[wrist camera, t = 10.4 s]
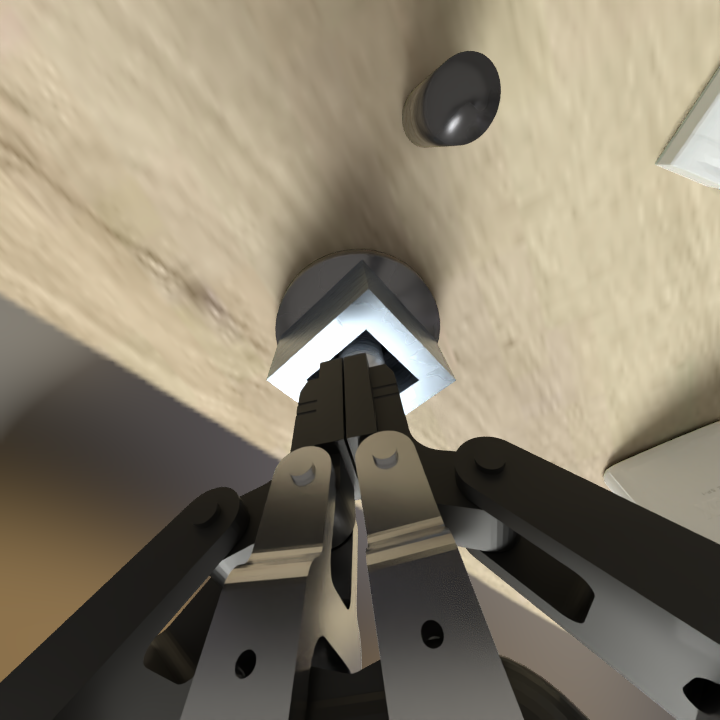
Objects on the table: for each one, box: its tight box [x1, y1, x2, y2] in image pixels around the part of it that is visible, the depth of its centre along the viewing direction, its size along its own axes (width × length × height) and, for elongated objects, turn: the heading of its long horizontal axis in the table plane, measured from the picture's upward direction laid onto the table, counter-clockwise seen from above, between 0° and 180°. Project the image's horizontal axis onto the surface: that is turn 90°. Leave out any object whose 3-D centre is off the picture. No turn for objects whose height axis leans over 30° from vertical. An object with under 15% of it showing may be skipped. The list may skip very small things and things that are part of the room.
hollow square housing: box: [267, 260, 456, 415], centre depth 16 cm, size 6×6×4 cm
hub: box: [276, 249, 440, 367], centre depth 17 cm, size 9×9×4 cm
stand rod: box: [402, 51, 501, 148], centre depth 11 cm, size 2×2×4 cm
